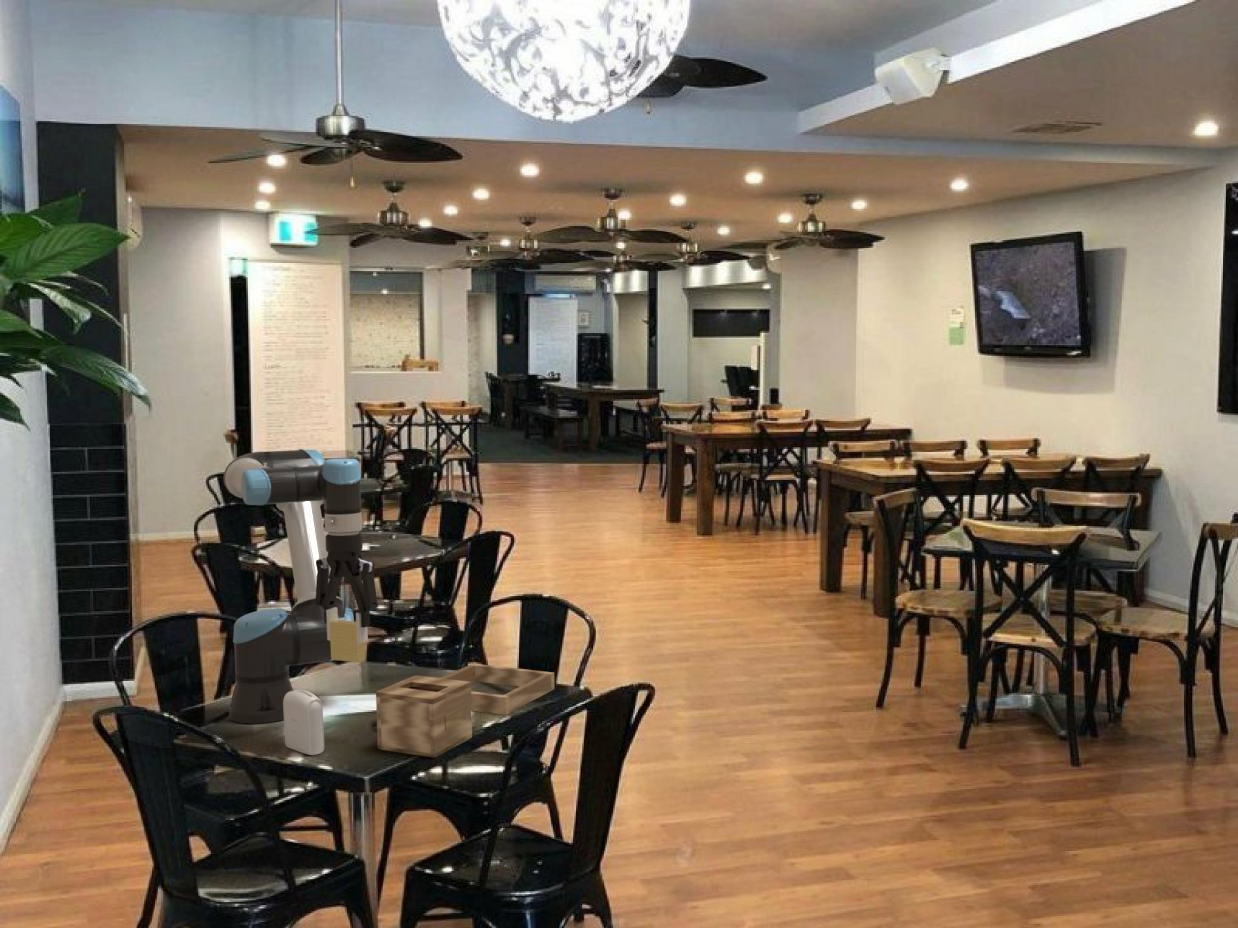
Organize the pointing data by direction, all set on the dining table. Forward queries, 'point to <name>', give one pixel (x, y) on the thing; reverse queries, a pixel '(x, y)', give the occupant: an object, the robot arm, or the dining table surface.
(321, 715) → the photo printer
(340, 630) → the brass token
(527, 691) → the frame
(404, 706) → the coin box
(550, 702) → the dining table surface
